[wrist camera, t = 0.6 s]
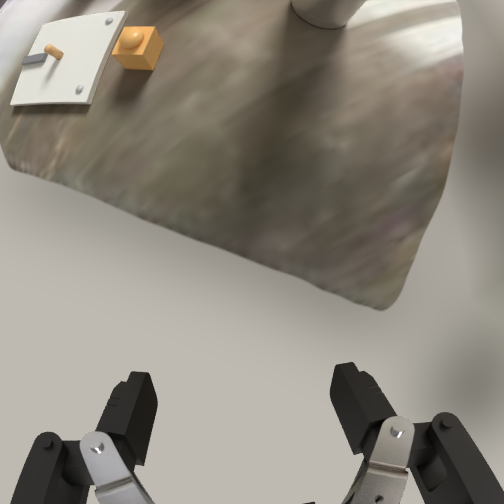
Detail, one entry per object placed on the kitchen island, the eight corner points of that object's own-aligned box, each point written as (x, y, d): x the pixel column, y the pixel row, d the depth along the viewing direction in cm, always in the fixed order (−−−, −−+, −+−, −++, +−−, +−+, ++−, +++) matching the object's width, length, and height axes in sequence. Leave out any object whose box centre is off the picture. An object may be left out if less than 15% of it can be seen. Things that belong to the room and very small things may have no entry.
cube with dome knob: (136, 43, 27) (121, 23, 21) (164, 44, 27) (153, 23, 21) (125, 68, 28) (108, 51, 22) (153, 70, 28) (140, 51, 22)
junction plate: (47, 26, 22) (32, 16, 17) (128, 15, 25) (117, -3, 20) (15, 106, 26) (-5, 101, 21) (91, 104, 29) (72, 95, 23)
